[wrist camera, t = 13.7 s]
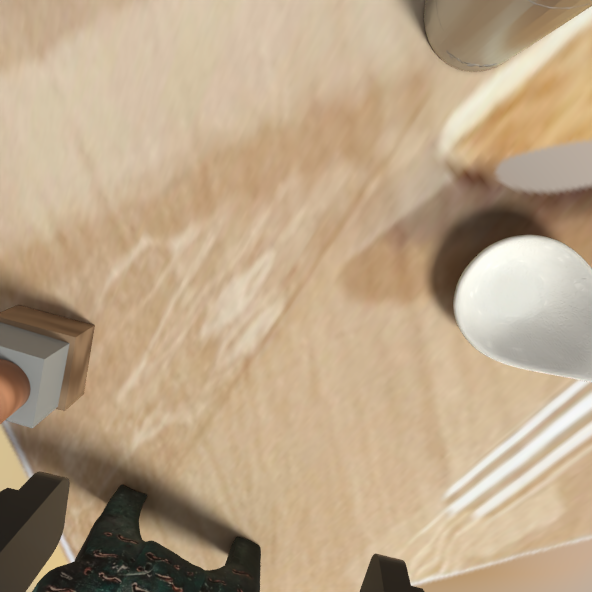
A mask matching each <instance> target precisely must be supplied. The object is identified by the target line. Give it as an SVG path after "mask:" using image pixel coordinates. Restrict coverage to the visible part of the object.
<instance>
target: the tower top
mask: <svg viewBox="0 0 592 592" xmlns="http://www.w3.org/2000/svg"><path fill="white" fill-rule="evenodd" d="M69 344H70V343H67V342H64V341H61V340H57V339H54V338H51V337H47V336H44V335H41V334H37V333H34V332H31V331H28V330H24V329H21V328H18V327H14V326H11V325H8V324H4V323H1V322H0V359H4V360H8V361H10V362H12V363H14V364H16V365H17V366H19V367H20V368H21V369H22V370H23V371H24V372H25V374H26V375H27V377H28V379H29V382H30V388H31V390H30V396H29V398H28V400H27V401H26V403H25V404H24V405H23V406H21V407H20V408H19V409H18V410H17V411H15V412H14V413H13V414H12V415H11V416H9V417H8V418H7V419H6V421H9V422H13V423H16V424H19V425H23V426H26V427H30V428H34V427H35V426H36V425H37V424H38V423H39V422H41V421H42V420H43V419H44V418H45V417H46V416H48V415H49V414H50V413H51V412H52V411H53V410H55V409H56V408H57V407H58V403H59V397H60V392H61V387H62V381H63V376H64V371H65V365H66V360H67V355H68V349H69Z"/></svg>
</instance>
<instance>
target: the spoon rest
mask: <svg viewBox="0 0 592 592" xmlns="http://www.w3.org/2000/svg"><path fill="white" fill-rule="evenodd" d="M453 309H454V315H455V319H456V322H457V325H458V327H459V329H460V331H461V332H462V334H463V335H464V337H465V338H466V339H467V340H468V341H469V343H470V344H471V345H472V346H473V347H474V348H476V349H477V350H478V351H479V352H481V353H482V354H484V355H486V356H487V357H489V358H491V359H494V360H496V361H498V362H501V363H503V364H506V365H510V366H513V367H516V368H521V369H525V370H530V371H535V372H540V373H545V374H551V375H556V376H562V377H567V378H572V379H577V380H582V381H586V382H591V383H592V268H591V267H590V266H589V264H588V263H587V262H586V261H585V260H584V259H583V258H582V257H581V256H580V255H579V254H578V253H577V252H575V251H574V250H573V249H571V248H570V247H568V246H567V245H565V244H564V243H562V242H560V241H558V240H555V239H552V238H549V237H545V236H539V235H519V236H513V237H509V238H506V239H502V240H500V241H497V242H495V243H493V244H491V245H489V246H488V247H486V248H485V249H484V250H483V251H481V252H480V253H479V254H478V255H477V256H476V257H475V258H474V259H473V260H472V261H471V262H470V263H469V264H468V266H467V267H466V268H465V270H464V271H463V273H462V275H461V277H460V278H459V281H458V283H457V286H456V290H455V294H454V300H453Z"/></svg>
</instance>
